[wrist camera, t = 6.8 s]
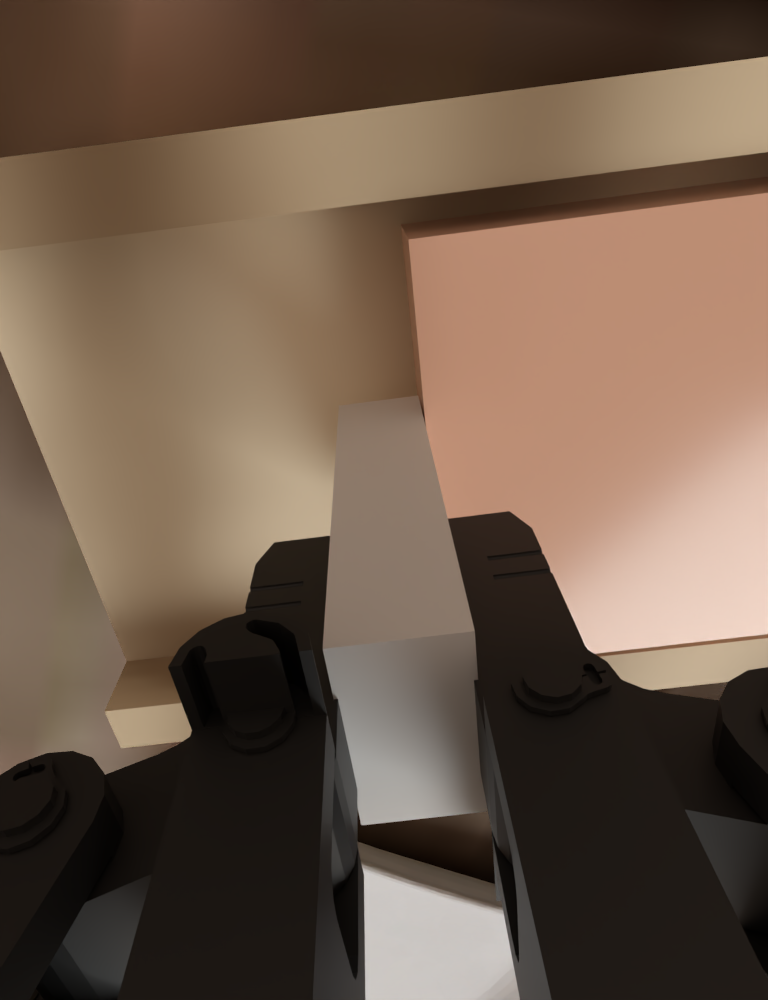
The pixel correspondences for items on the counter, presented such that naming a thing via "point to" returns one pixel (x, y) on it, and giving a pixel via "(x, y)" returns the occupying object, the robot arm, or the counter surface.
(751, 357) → the block
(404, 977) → the salad plate
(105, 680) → the counter surface
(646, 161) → the box
